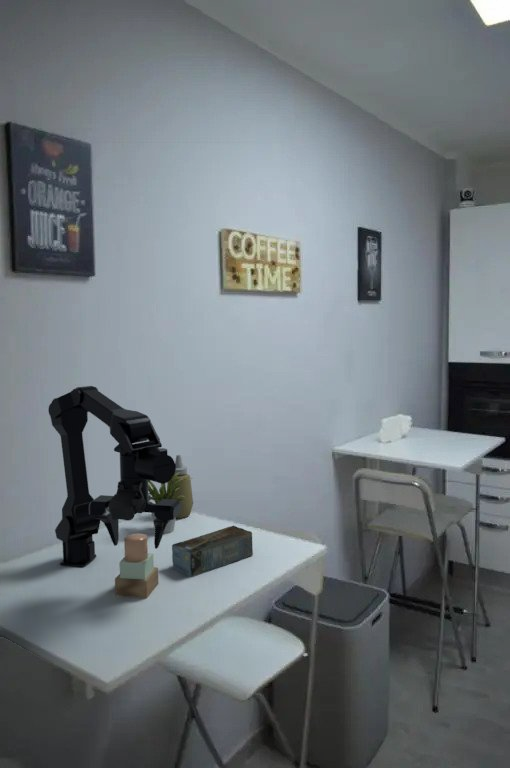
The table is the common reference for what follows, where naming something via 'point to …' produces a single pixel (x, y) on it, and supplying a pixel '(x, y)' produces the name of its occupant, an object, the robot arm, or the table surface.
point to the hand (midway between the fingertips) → (136, 546)
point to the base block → (136, 585)
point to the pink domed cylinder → (136, 547)
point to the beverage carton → (212, 550)
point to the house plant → (164, 495)
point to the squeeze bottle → (183, 488)
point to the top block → (136, 568)
